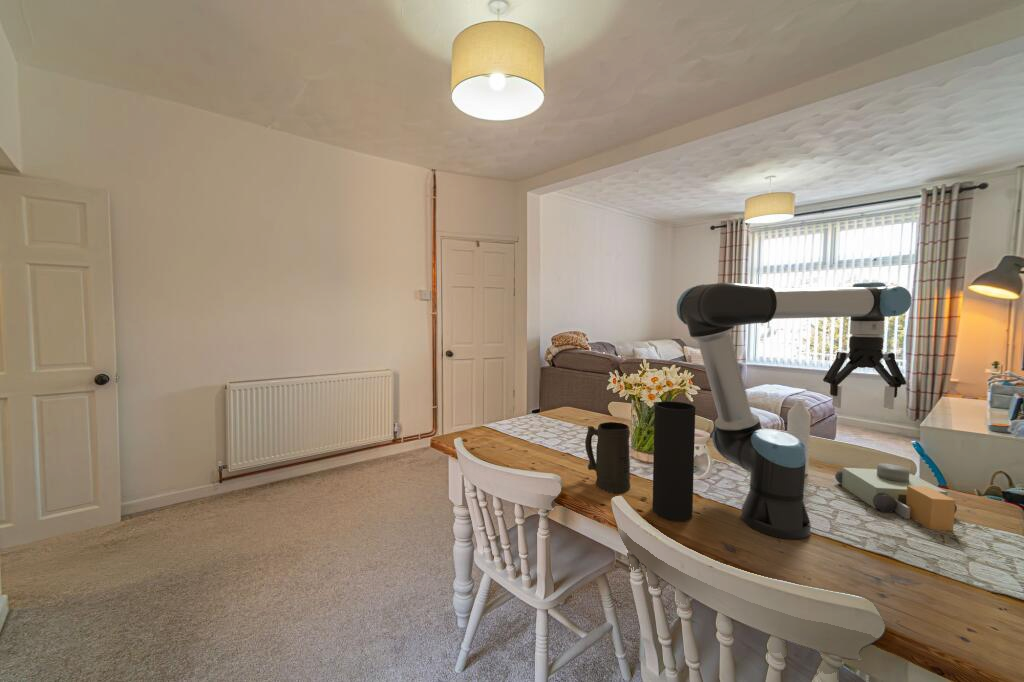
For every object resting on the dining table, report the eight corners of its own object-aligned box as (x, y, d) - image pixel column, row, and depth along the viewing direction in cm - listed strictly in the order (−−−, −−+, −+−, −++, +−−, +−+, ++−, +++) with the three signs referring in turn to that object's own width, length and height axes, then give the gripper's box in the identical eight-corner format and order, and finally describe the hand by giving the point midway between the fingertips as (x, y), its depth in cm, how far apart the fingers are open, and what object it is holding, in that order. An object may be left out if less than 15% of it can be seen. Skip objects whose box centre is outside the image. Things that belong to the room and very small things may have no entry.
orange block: (930, 529, 104) (932, 498, 103) (905, 514, 111) (907, 485, 111) (952, 531, 103) (955, 500, 102) (926, 515, 111) (928, 486, 110)
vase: (656, 500, 120) (658, 399, 118) (694, 509, 115) (697, 403, 112) (649, 516, 111) (651, 407, 109) (689, 525, 106) (692, 411, 104)
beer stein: (637, 484, 131) (633, 422, 131) (627, 496, 122) (623, 430, 122) (591, 477, 140) (588, 419, 139) (579, 488, 131) (575, 426, 130)
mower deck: (884, 517, 110) (886, 484, 109) (834, 483, 131) (836, 455, 131) (966, 522, 107) (968, 489, 106) (901, 487, 128) (902, 459, 128)
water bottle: (807, 476, 136) (810, 403, 135) (784, 472, 140) (787, 400, 139) (809, 469, 143) (812, 398, 141) (787, 464, 147) (790, 396, 145)
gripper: (826, 336, 118) (822, 408, 119) (926, 336, 113) (921, 412, 115) (811, 334, 125) (808, 403, 127) (905, 335, 121) (900, 406, 122)
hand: (862, 407), depth 121 cm, fingers open, 13 cm apart
